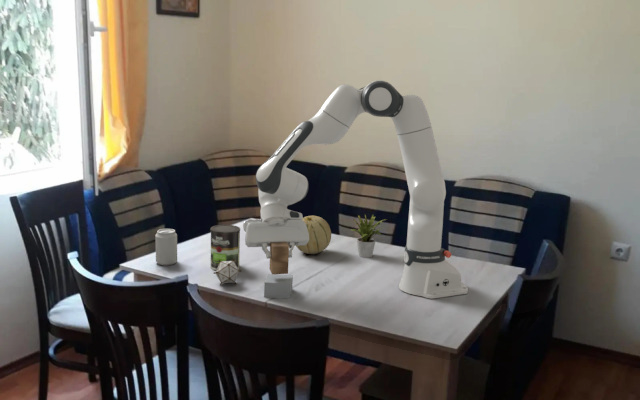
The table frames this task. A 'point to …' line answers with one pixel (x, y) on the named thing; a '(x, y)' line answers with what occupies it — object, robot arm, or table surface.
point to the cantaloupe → (316, 235)
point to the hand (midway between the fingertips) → (279, 257)
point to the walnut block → (279, 257)
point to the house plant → (366, 236)
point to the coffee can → (224, 244)
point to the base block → (278, 286)
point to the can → (166, 247)
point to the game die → (227, 271)
